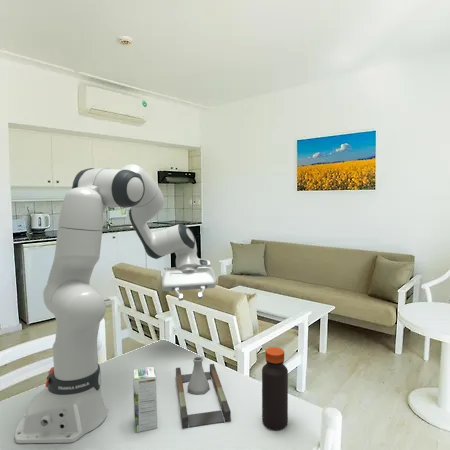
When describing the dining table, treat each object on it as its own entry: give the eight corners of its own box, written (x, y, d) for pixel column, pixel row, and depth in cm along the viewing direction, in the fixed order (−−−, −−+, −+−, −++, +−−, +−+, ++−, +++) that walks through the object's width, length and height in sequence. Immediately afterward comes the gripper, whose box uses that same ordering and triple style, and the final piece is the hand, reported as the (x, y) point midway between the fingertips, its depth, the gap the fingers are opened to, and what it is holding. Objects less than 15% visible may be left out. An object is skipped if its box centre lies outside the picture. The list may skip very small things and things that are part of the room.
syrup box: (134, 419, 97) (131, 369, 96) (155, 415, 99) (154, 365, 97) (135, 433, 92) (133, 379, 90) (158, 428, 93) (156, 376, 92)
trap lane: (182, 428, 93) (182, 417, 93) (176, 376, 120) (175, 367, 119) (230, 421, 96) (230, 411, 95) (213, 372, 122) (213, 363, 122)
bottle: (293, 425, 94) (293, 353, 92) (272, 434, 90) (272, 359, 89) (277, 411, 100) (277, 343, 98) (257, 419, 96) (256, 349, 94)
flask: (206, 396, 108) (206, 364, 107) (184, 393, 109) (183, 362, 108) (212, 383, 115) (211, 354, 114) (190, 381, 116) (190, 352, 115)
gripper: (160, 263, 132) (161, 297, 123) (214, 260, 136) (219, 292, 127) (160, 272, 137) (161, 305, 128) (212, 269, 141) (217, 301, 132)
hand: (190, 299), depth 128 cm, fingers open, 6 cm apart
